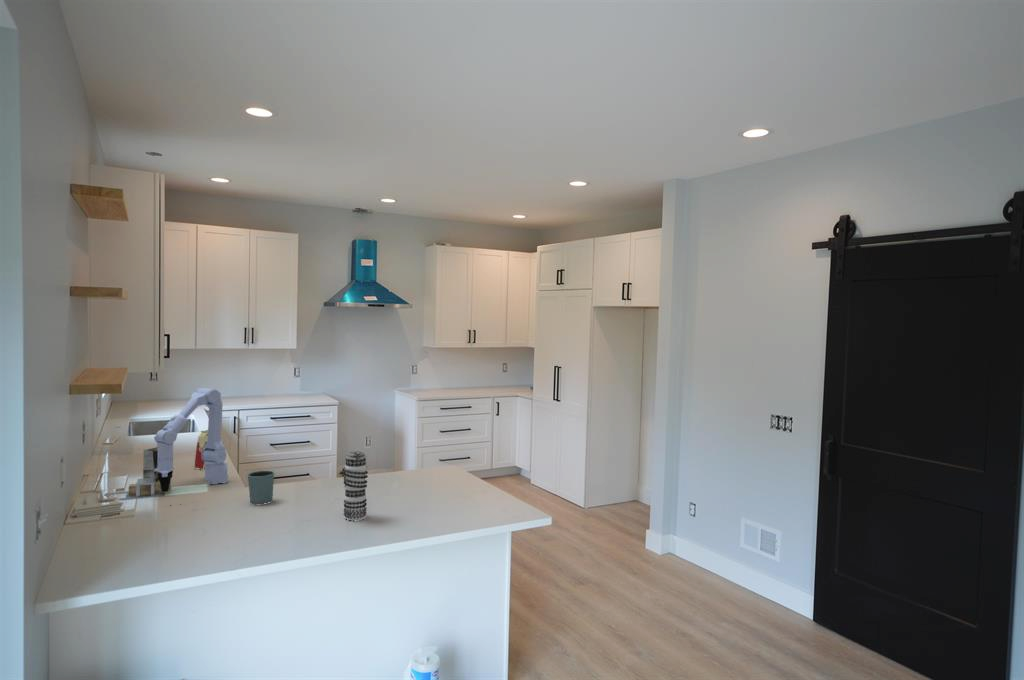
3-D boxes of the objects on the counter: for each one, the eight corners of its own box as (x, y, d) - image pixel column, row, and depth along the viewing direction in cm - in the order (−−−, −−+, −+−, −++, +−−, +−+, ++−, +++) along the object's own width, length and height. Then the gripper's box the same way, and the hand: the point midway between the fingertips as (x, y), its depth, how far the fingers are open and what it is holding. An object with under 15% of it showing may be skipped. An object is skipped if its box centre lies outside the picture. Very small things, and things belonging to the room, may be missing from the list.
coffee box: (154, 487, 271) (155, 450, 271) (142, 486, 273) (142, 450, 272) (170, 481, 280) (170, 446, 280) (158, 481, 282) (158, 446, 281)
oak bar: (170, 490, 262) (170, 480, 262) (170, 492, 258) (170, 482, 258) (129, 494, 255) (129, 484, 254) (128, 496, 251) (128, 486, 251)
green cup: (278, 502, 252) (278, 473, 252) (254, 507, 244) (254, 477, 244) (267, 497, 259) (267, 469, 258) (243, 502, 251) (243, 473, 251)
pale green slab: (206, 487, 273) (206, 483, 273) (207, 495, 260) (207, 491, 260) (105, 496, 255) (105, 493, 255) (100, 506, 242) (100, 502, 242)
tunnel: (155, 490, 261) (155, 477, 261) (154, 495, 253) (154, 482, 253) (137, 491, 258) (137, 478, 258) (136, 497, 250) (136, 483, 250)
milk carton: (220, 467, 309) (221, 428, 309) (203, 471, 301) (203, 430, 301) (210, 465, 314) (210, 426, 313) (192, 468, 306) (193, 428, 306)
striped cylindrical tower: (340, 515, 236) (341, 451, 236) (365, 513, 240) (365, 449, 239) (344, 522, 228) (345, 456, 227) (369, 520, 232) (370, 454, 231)
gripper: (155, 455, 263) (155, 486, 263) (153, 462, 250) (153, 495, 251) (173, 454, 266) (173, 485, 267) (173, 461, 254) (173, 493, 254)
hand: (165, 490), depth 259 cm, fingers closed on oak bar, 4 cm apart
